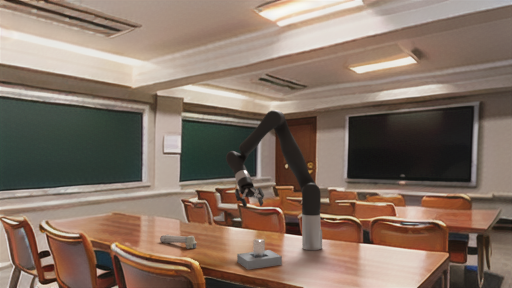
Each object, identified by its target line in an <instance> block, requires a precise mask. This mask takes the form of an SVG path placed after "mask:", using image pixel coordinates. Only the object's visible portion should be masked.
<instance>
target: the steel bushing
mask: <svg viewBox="0 0 512 288" xmlns="http://www.w3.org/2000/svg"><path fill="white" fill-rule="evenodd" d="M252 243H253V246H252V247H253V249H252V250H253V251H252V252H253V257H255V258H260V257H265V250H266V249H265V247H266V246H265V245H266V241H265V239H263V238H256V239H253V241H252Z"/></svg>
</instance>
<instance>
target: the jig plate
mask: <svg viewBox="0 0 512 288" xmlns="http://www.w3.org/2000/svg"><path fill="white" fill-rule="evenodd" d="M236 261H237V263H238V264H239V265H241V266H242V267H244V268H245V269H246V270H254V269H261V268H269V267H274V266H275V267H276V266H282V265H283V257H282V255H279V254H278V253H276V252H274V251H272V250H271V249H267V250H266V249H265V257H260V258H255V257H253V251H251V252H250V251H249V252H244V253H243V252H242V253H237V254H236Z"/></svg>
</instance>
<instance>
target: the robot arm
mask: <svg viewBox="0 0 512 288" xmlns="http://www.w3.org/2000/svg"><path fill="white" fill-rule="evenodd" d="M273 130H274V131H275V134H276V135H277V138H278V142H279V146H280V150H281V153H282V156H283V158H284V160H285V162H286V164H287V166H288V167H289V169H290V170H291V173H292V174H293V175H294V176H295V179H296V180H297V183H298V185H299V187H300V192H301V220H302V221H301V232H302V234H301V235H302V236H301V240H302V241H301V243H302V245H301V246H302V247H301V248H302V249H304V250H307V251H318V250H321V249H323V230H322V229H321V208H322V207H321V206H322V205H321V197H322V196H321V189H320V187H319V186H318V185H317V183H316V182H315V181H314V179H313V177H312V175H311V173H310V171H309V169H308V165H307V162H306V159H305V157H304V155H303V153H302V150H301V149H300V146H299V145H298V143H297V140H296V139H295V137H294V136H293V134H292V132H291V130H290V128H289V125H288V122H287V119H286V116H285V114H284V113H283V112H282V111H281V110H278V109H277V110H276V109H273V110H270V111H268V112H267V113H266V114H265V115H264V117H263V118H262V120H261V121H260V123H259V124H258V125H257V126H256V127H255V129H254V130H253V131H252V132H251V133H250V134H249V135H248V136H247V138H244V140H243V141H242V142H241V143H240V144H239V147H238V150H239V151H240V153H239V152H236V151H234V150H230V151H228V152H227V154H226V157H225V159H226V162H227V163H226V164H227V165H228V167H229V168H230V169H231V170H232V172H233V175H234V177H235V181H236V184H237V186H238V188H235V191H234V195H235V199H236V202H241V204H242V206H243V208H247V206H248V203H247V201H246V198H253V199H256V200H257V202H258V204H259V206H260V207H262V206H263V205H264V201H263V200H264V197H265V194H264V192H263V190H262V188H261V187H258V188H256V187H255V185H254V183H253V181H252V178H251V175H250V173H249V172H248V169H247V167H246V165H245V162H246V161H247V159H248V157H249V155H250V154H251V153H252V152H253V151H254V150H255V149H256V148H257V147H258V146H259V144H260V143H261V142H262V140H263V139H264V137H265V136H266V135H268V133H270V132H271V131H273ZM241 195H242V196H241Z"/></svg>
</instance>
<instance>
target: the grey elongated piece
mask: <svg viewBox="0 0 512 288" xmlns="http://www.w3.org/2000/svg"><path fill="white" fill-rule="evenodd" d="M159 239H160V242H161V243H162V242H163V243H164V244H169V243H170V244H171V243H173V244H177V243H178V244H179V243H180V244H182V243H184V245H185V249H196V248H197V243H198V242H197V241H196V240H195V236H194V235H188V236H181V235H172V234H171V235H170V234H166V235H161V236H160V238H159Z"/></svg>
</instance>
